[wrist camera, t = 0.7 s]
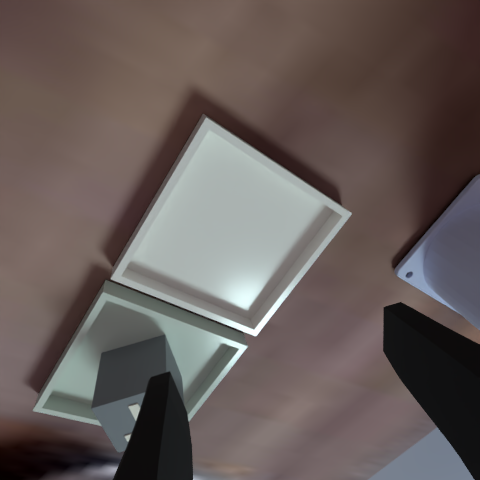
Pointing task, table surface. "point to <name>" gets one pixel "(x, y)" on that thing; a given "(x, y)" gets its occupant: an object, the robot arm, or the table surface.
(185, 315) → the tray
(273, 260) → the tray
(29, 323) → the table surface
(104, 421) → the letter cube
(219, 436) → the table surface
